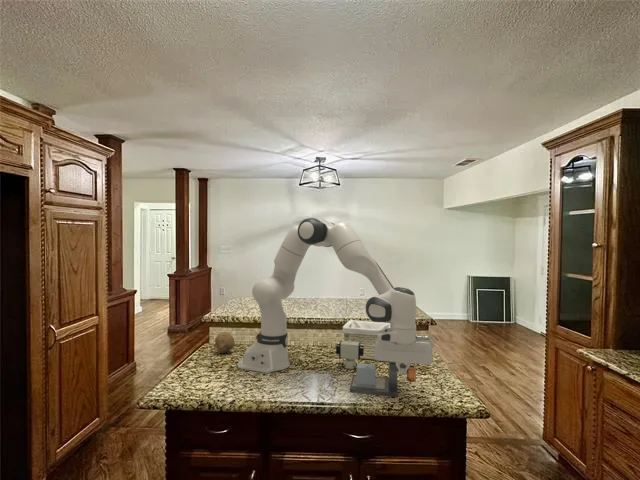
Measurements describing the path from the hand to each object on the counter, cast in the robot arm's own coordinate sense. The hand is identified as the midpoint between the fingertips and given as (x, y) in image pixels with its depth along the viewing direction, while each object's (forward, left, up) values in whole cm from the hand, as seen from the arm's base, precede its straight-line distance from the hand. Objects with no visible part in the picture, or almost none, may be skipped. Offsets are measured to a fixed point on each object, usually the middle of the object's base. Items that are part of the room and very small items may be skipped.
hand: (402, 374), depth 125 cm
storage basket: (-14, +46, -9) cm, 49 cm away
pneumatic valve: (-21, +27, -9) cm, 36 cm away
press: (-7, +9, -9) cm, 15 cm away
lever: (+3, +2, -2) cm, 4 cm away
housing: (-13, +9, -7) cm, 18 cm away
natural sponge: (-82, +33, -9) cm, 89 cm away
